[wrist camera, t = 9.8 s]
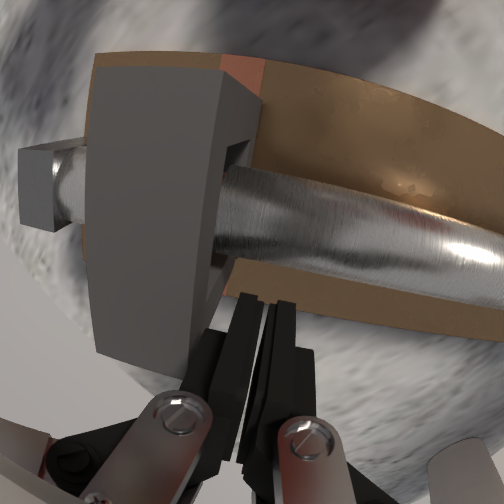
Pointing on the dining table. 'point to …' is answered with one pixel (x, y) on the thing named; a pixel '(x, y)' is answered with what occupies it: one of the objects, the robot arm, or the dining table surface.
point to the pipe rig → (333, 199)
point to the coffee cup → (464, 475)
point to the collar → (160, 206)
